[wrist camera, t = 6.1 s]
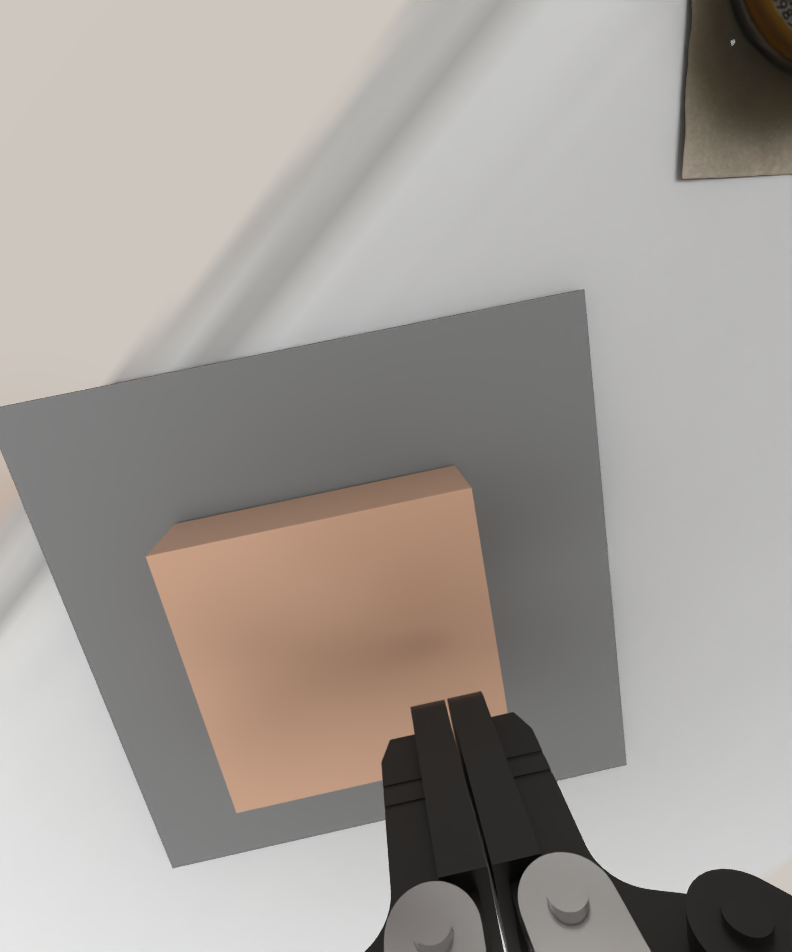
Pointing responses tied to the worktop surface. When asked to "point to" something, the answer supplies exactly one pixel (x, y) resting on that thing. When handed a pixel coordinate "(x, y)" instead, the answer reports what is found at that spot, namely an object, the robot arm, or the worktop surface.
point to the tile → (328, 628)
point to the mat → (317, 471)
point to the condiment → (739, 89)
